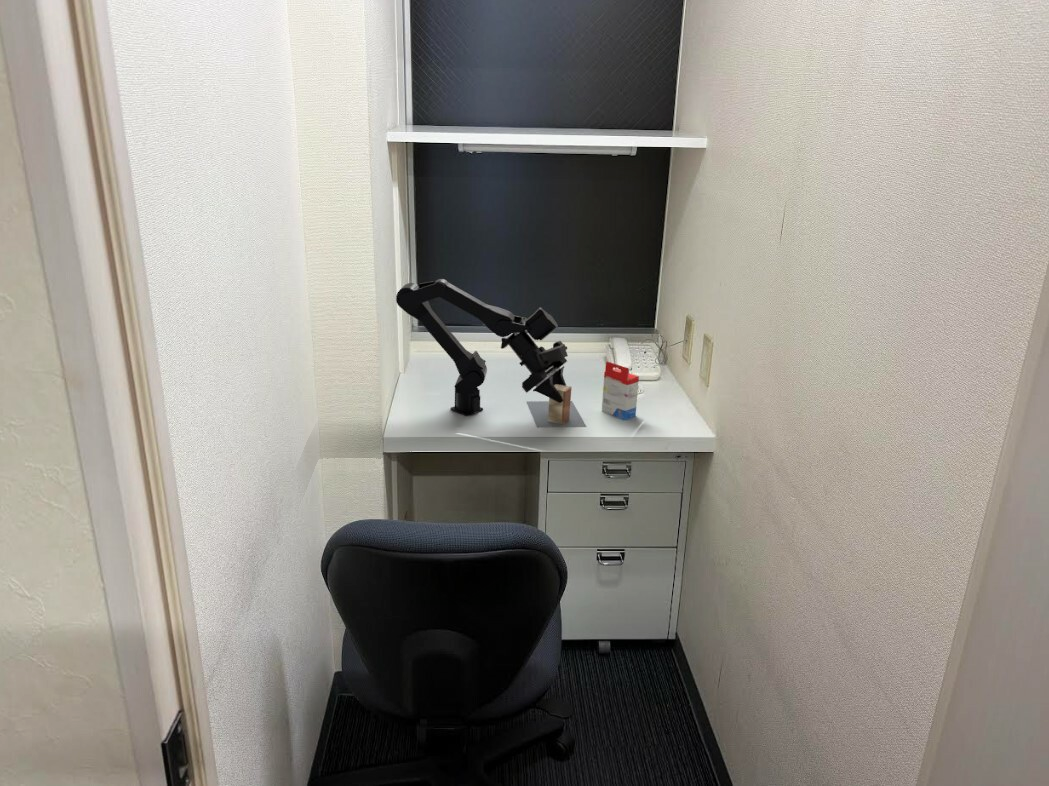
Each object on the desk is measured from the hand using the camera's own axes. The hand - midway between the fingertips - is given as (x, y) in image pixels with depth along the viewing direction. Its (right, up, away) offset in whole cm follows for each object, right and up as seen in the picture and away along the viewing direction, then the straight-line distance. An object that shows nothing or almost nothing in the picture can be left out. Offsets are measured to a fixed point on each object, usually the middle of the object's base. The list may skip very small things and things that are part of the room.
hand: (565, 398), depth 205 cm
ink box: (+15, -5, +10) cm, 18 cm away
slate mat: (-2, -4, +7) cm, 9 cm away
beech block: (-2, -6, +3) cm, 6 cm away
